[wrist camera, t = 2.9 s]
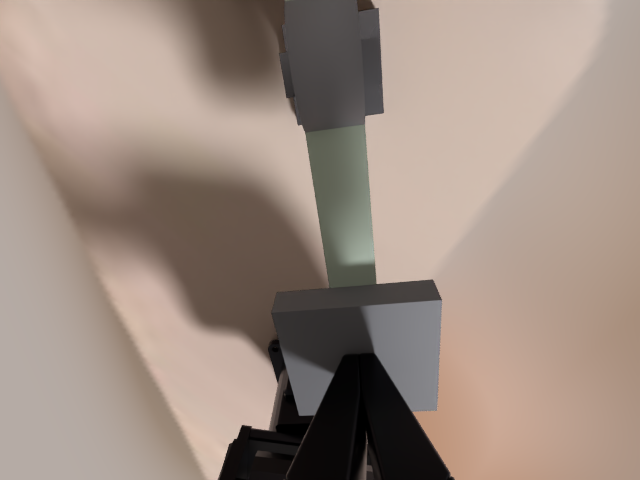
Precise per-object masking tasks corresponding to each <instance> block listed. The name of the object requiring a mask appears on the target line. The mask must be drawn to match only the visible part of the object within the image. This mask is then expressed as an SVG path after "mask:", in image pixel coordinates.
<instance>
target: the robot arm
mask: <svg viewBox="0 0 640 480" xmlns="http://www.w3.org/2000/svg"><path fill="white" fill-rule="evenodd" d="M275 347H277V348H275ZM268 351H269V354H270V358H271V361H272V365H273V368H274V372H275V375H276V379H277V382H278V387H277V392H276V397H275V402H274V407H273V412H272V417H271V422H270V427H269V431H268V430H261V429H254V428H252V426H245V425H242V427H241V429H240V432H239V435H238V438H237V439H234V441H233V443H231V444H229V447H228V450H227V453H226V457H225V460H224V463H223V467H222V470H221V472H220V475H219V478H218V480H455V479H454V478H453V477H450V472H449V470H448V468H447V467H446V465H445V464H444V462H443V460H442V459H441V457H440V456H439V454H438V452H437V451H436V449H435V448H434V446H433V445H432V443H431V441H430V440H429V438H428V437H427V435H426V433H425V432H424V430H423V429H422V427H421V425H420V424H419V422H418V421H417V419H416V417H415V416H414V414H413V413H412V411H411V409H410V408H409V406H408V405H407V403H406V401H405V400H404V398H403V397H402V395H401V393H400V392H399V390H398V389H397V387H396V385H395V384H394V382H393V381H392V379H391V377H390V376H389V374H388V373H387V371H386V369H385V368H384V366H383V365H382V363H381V362H380V360H379V358H378V357H377V355H376V354H375V353H362V354H360V358H359V355H358V354H345V355H343V357H342V359H341V361H340V363H339V365H338V367H337V369H336V371H335V373H334V375H333V378H332V380H331V382H330V384H329V386H328V388H327V390H326V392H325V394H324V397H323V399H322V401H321V403H320V405H319V407H318V409H317V411H316V413H315V415H308V416H299V413H298V409H297V405H296V402H295V398H294V394H293V391H292V387H291V383H290V380H289V376H288V372H287V369H286V365H285V361H284V358H283V354H282V350H281V347H280V343H279V340H273V341H271V342H270V344H269V347H268ZM366 433H367V435H366ZM367 442H368V444H367Z"/></svg>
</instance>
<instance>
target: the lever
mask: <svg viewBox="0 0 640 480" xmlns="http://www.w3.org/2000/svg"><path fill="white" fill-rule="evenodd" d="M284 16H285V31H286V41H287V49H288V57H289V64H290V70H291V77H292V82H293V88H294V93H295V98H296V103H297V107H298V112H299V116H300V119H301V123H302V126H303V129H304V131H305V134H306V140H307V147H308V153H309V159H310V166H311V172H312V179H313V185H314V191H315V198H316V204H317V210H318V217H319V223H320V230H321V236H322V242H323V249H324V255H325V262H326V268H327V274H328V281H329V287H330V288H325V289H313V290H300V291H288V292H277V294H276V298H275V301H274V305H273V309H272V312H271V314H272V317H273V321H274V325H275V328H276V332H277V336H278V339H279V343H280V347H281V350H282V354H283V358H284V361H285V365H286V369H287V372H288V376H289V380H290V383H291V387H292V391H293V394H294V398H295V402H296V405H297V409H298V413H299V416H308V415H315V413H316V411H317V409H318V407H319V405H320V403H321V401H322V399H323V397H324V394H325V392H326V390H327V388H328V386H329V384H330V382H331V380H332V378H333V375H334V373H335V371H336V369H337V367H338V365H339V363H340V361H341V359H342V357H343V355H345V354H358V355H359V358H360V354H362V353H375V354H376V355H377V357H378V358H379V360H380V362H381V363H382V365H383V366H384V368H385V369H386V371H387V373H388V374H389V376H390V377H391V379H392V381H393V382H394V384H395V385H396V387H397V389H398V390H399V392H400V393H401V395H402V397H403V398H404V400H405V401H406V403H407V405H408V406H409V408H410V409H411V411H412V412H413V411H436V410H437V399H438V375H439V354H440V331H441V330H440V329H441V308H442V299H441V297H440V295H439V292H438V290H437V288H436V285H435V283H434V281H433V280H422V281H410V282H398V283H386V284H376V271H375V258H374V244H373V230H372V216H371V203H370V189H369V175H368V161H367V148H366V134H365V93H364V75H363V59H362V46H361V35H360V24H359V14H358V5H357V0H285V5H284Z"/></svg>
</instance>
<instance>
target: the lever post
mask: <svg viewBox="0 0 640 480" xmlns="http://www.w3.org/2000/svg"><path fill="white" fill-rule="evenodd" d="M358 14H359V24H360V35H361V46H362V59H363V75H364V93H365V116H367V115H375V114H382V113H384V109H383V88H382V68H381V47H380V26H379V8H376V9H370V10H365V11H359V12H358ZM282 30H283V36H284V42H285V49H286V52H285V53H279V56H280V61H281V67H282V73H283V79H284V85H285V91H286V97H287V98H290V97H293V98H294V104H295V110H296V117H297V123H298V125H302V123H301V119H300V116H299V112H298V107H297V103H296V98H295V93H294V88H293V82H292V77H291V70H290V64H289V57H288V49H287V41H286V31H285V25H282Z"/></svg>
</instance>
